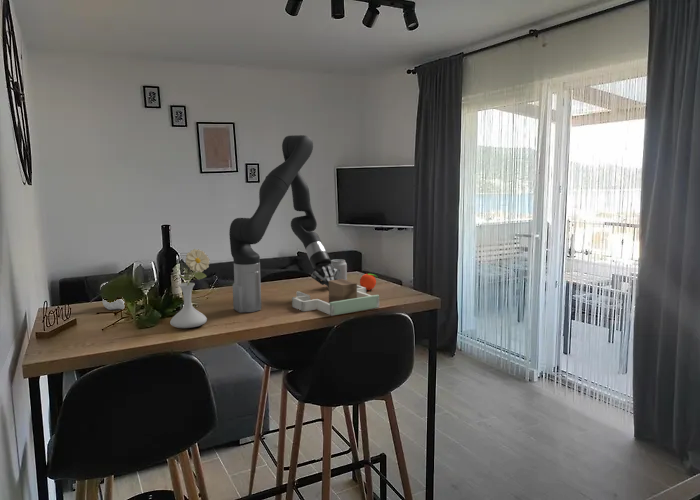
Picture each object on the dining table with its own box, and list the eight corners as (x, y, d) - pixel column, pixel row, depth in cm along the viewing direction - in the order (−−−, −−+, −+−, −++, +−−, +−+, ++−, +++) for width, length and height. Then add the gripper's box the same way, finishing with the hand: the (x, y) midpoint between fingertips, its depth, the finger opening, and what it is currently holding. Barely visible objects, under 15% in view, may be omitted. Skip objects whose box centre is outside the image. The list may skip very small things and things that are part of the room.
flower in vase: (171, 333, 155) (167, 253, 152) (169, 323, 165) (164, 248, 162) (214, 328, 160) (211, 250, 157) (209, 319, 171) (206, 246, 167)
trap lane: (317, 318, 171) (316, 305, 170) (283, 302, 193) (282, 290, 192) (391, 305, 188) (391, 293, 187) (352, 291, 210) (352, 281, 209)
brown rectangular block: (343, 309, 182) (343, 285, 180) (328, 304, 190) (328, 280, 189) (356, 307, 185) (356, 283, 184) (342, 301, 193) (342, 278, 192)
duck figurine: (106, 311, 189) (85, 291, 183) (121, 297, 193) (101, 276, 186) (120, 317, 181) (98, 296, 175) (135, 302, 185) (115, 281, 178)
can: (350, 286, 220) (350, 259, 218) (338, 289, 214) (338, 262, 213) (338, 284, 225) (338, 258, 223) (326, 287, 219) (325, 260, 218)
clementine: (379, 288, 217) (379, 271, 216) (378, 291, 210) (378, 275, 209) (360, 287, 218) (360, 271, 217) (359, 291, 211) (359, 274, 210)
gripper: (306, 251, 193) (322, 288, 185) (335, 248, 201) (352, 284, 192) (300, 263, 199) (315, 299, 190) (329, 260, 206) (345, 295, 197)
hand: (334, 291), depth 191 cm, fingers closed
